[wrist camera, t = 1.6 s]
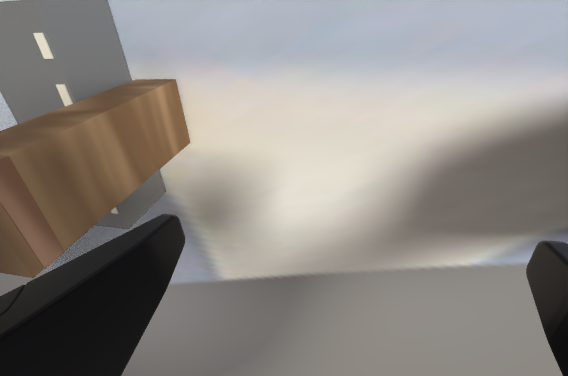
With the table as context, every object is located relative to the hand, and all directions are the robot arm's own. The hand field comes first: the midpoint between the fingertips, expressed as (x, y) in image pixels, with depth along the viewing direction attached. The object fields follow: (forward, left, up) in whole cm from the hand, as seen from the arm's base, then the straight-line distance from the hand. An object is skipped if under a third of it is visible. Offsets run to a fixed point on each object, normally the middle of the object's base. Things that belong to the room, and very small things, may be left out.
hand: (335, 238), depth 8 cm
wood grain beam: (+9, +9, -13) cm, 18 cm away
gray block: (+13, +12, -13) cm, 22 cm away
